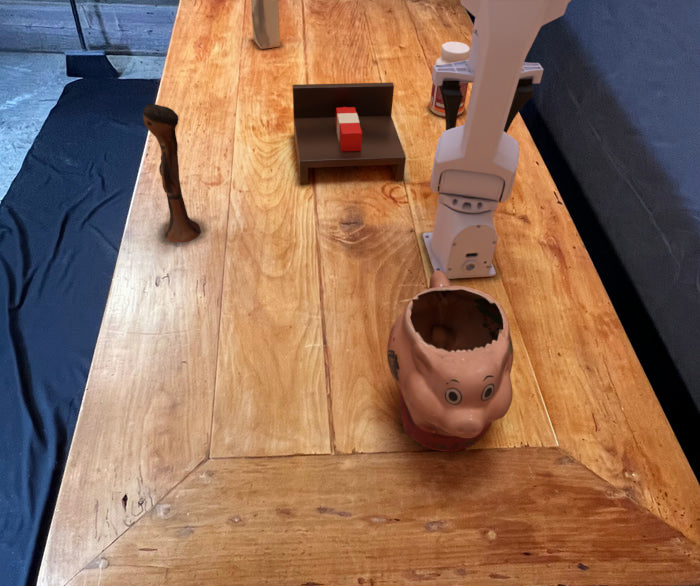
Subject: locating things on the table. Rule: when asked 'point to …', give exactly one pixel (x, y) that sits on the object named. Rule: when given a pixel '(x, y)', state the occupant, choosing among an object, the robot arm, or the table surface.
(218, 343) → the table surface
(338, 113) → the red and white block
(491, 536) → the table surface
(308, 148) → the shelf
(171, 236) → the figurine
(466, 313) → the decorative planter
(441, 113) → the pill bottle
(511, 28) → the robot arm
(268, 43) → the box
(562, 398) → the table surface
